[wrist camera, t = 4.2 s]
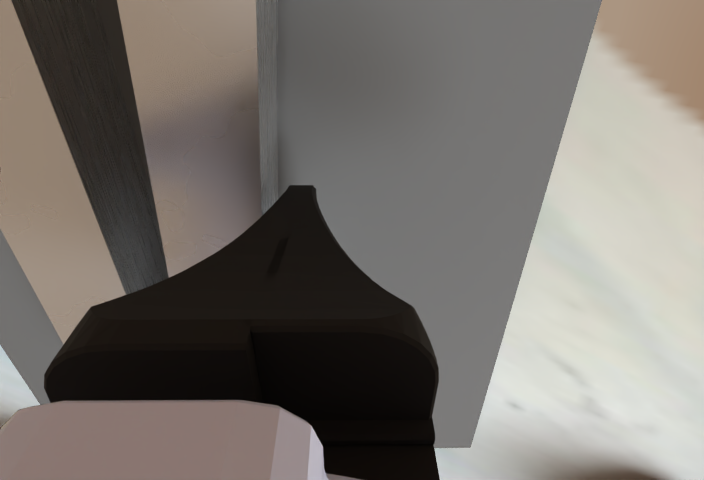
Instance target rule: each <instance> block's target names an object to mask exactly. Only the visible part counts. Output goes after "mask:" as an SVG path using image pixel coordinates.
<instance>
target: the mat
mask: <svg viewBox="0 0 704 480" xmlns="http://www.w3.org/2000/svg"><path fill="white" fill-rule="evenodd" d="M601 1H602V0H278V199H279V198H280V197H281V195H282V194H283V193H284V192H285V191H286V190H287V188H288V187H289V185H314V187H315V188H316V193H317V202H318V205H319V208H320V210H321V213H322V215H323V217H324V219H325V221H326V223H327V225H328V227H329V229H330V231H331V232H332V234H333V236H334V237H335V239H336V240H337V242H338V243H339V245H340V246H341V247H342V249H343V250H344V251H345V253H346V254H347V255H348V256H349V257H350V259H351V260H352V261H353V262H354V263H355V264H356V265H357V266H358V267H359V268H360V269H361V270H362V271H363V272H364V273H365V274H366V275H367V276H369V277H370V278H371V279H372V280H373V281H374V282H376V283H377V284H378V285H380V286H381V287H382V288H384V289H385V290H386V291H388V292H390V293H391V294H393V295H395V296H396V297H398V298H400V299H401V300H403V301H405V302H407V303H408V304H410V305H412V306H413V307H414V308H415V310H416V312H417V314H418V316H419V318H420V320H421V322H422V324H423V326H424V328H425V330H426V332H427V335H428V337H429V339H430V342H431V345H432V347H433V350H434V353H435V356H436V359H437V364H438V368H439V383H438V389H437V394H436V399H435V404H434V409H433V414H432V419H433V425H434V430H435V444H433V445H434V448H470V447H471V444H472V440H473V437H474V434H475V430H476V427H477V423H478V420H479V417H480V413H481V410H482V406H483V403H484V400H485V396H486V393H487V389H488V386H489V383H490V379H491V376H492V372H493V369H494V366H495V362H496V359H497V355H498V352H499V349H500V345H501V342H502V338H503V335H504V332H505V328H506V325H507V321H508V318H509V315H510V311H511V308H512V304H513V301H514V298H515V294H516V291H517V287H518V284H519V281H520V277H521V274H522V270H523V267H524V264H525V260H526V257H527V253H528V250H529V247H530V243H531V240H532V236H533V233H534V229H535V226H536V223H537V219H538V216H539V212H540V209H541V206H542V202H543V199H544V195H545V192H546V189H547V185H548V182H549V178H550V175H551V172H552V168H553V165H554V161H555V158H556V155H557V151H558V148H559V144H560V141H561V138H562V134H563V131H564V127H565V124H566V121H567V117H568V114H569V110H570V107H571V104H572V100H573V97H574V93H575V90H576V87H577V83H578V80H579V76H580V73H581V70H582V66H583V63H584V59H585V56H586V53H587V49H588V46H589V42H590V39H591V36H592V32H593V29H594V25H595V22H596V19H597V15H598V11H599V8H600V5H601ZM96 2H97V5H98V9H99V12H100V16H101V19H102V22H103V26H104V29H105V33H106V36H107V40H108V43H109V47H110V50H111V53H112V57H113V60H114V64H115V67H116V71H117V74H118V77H119V81H120V84H121V88H122V91H123V95H124V98H125V101H126V105H127V108H128V112H129V115H130V119H131V122H132V125H133V129H134V132H135V136H136V139H137V143H138V146H139V149H140V153H141V156H142V160H143V163H144V167H145V170H146V174H147V177H148V180H149V184H150V187H151V191H152V185H151V180H150V174H149V169H148V164H147V158H146V153H145V148H144V142H143V137H142V132H141V126H140V121H139V116H138V110H137V105H136V100H135V94H134V89H133V84H132V78H131V73H130V68H129V62H128V57H127V52H126V46H125V41H124V36H123V30H122V25H121V20H120V14H119V9H118V4H117V0H96ZM152 194H153V191H152ZM153 198H154V196H153ZM0 345H1V346H2V348H3V349H4V351H5V352H6V354H7V355H8V357H9V358H10V360H11V361H12V363H13V364H14V366H15V367H16V369H17V370H18V372H19V373H20V375H21V376H22V378H23V379H24V381H25V382H26V384H27V385H28V387H29V388H30V390H31V391H32V393H33V394H34V396H35V397H36V399H37V400H38V402H39V403H40V405H43V404H48V403H50V401H49V398H48V396H47V394H46V392H45V389H44V374H45V372H46V370H47V369H48V367H49V365H50V364H51V362H52V360H53V359H54V358H55V356H56V355H57V353H58V352H59V350H60V349H61V347H62V346H63V345H64V344H63V343H62V341H61V339H60V337H59V335H58V333H57V332H56V330H55V328H54V326H53V324H52V322H51V321H50V319H49V317H48V315H47V313H46V311H45V310H44V308H43V306H42V304H41V302H40V300H39V299H38V297H37V295H36V293H35V291H34V289H33V288H32V286H31V284H30V282H29V280H28V279H27V277H26V275H25V273H24V271H23V269H22V268H21V266H20V264H19V262H18V260H17V258H16V257H15V255H14V253H13V251H12V249H11V247H10V246H9V244H8V242H7V240H6V238H5V236H4V235H3V233H2V231H1V229H0Z"/></svg>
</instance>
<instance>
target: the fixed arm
mask: <svg viewBox="0 0 704 480" xmlns="http://www.w3.org/2000/svg"><path fill="white" fill-rule="evenodd" d="M0 229H1V231H2V233H3V235H4V236H5V238H6V240H7V242H8V244H9V246H10V247H11V249H12V251H13V253H14V255H15V257H16V258H17V260H18V262H19V264H20V266H21V268H22V269H23V271H24V273H25V275H26V277H27V279H28V280H29V282H30V284H31V286H32V288H33V289H34V291H35V293H36V295H37V297H38V299H39V300H40V302H41V304H42V306H43V308H44V310H45V311H46V313H47V315H48V317H49V319H50V321H51V322H52V324H53V326H54V328H55V330H56V332H57V333H58V335H59V337H60V339H61V341H62V343H63V344H64V343H65V342H66V340H67V339H68V337H69V336H70V334H71V333H72V332H73V330H74V329H75V327H76V326H77V324H78V323H79V322H80V320H81V319H82V318H83V316H84V315H85V314H86V312H87V311H88V310H89V309H90V307H91V306H94V305H98V304H101V303H104V302H107V301H110V300H113V299H115V298H118V297H121V296H124V295H127V294H130V293H133V292H136V291H138V290H141V289H144V288H146V287H149V286H151V285H153V284H156V283H158V282H160V281H163V280H165V279H167V278H169V276H168V271H167V265H166V260H165V255H164V249H163V244H162V239H161V233H160V228H159V223H158V217H157V212H156V207H155V201H154V198H153V194H152V191H151V187H150V184H149V180H148V177H147V174H146V170H145V167H144V163H143V160H142V156H141V153H140V149H139V146H138V143H137V139H136V136H135V132H134V129H133V125H132V122H131V119H130V115H129V112H128V108H127V105H126V101H125V98H124V95H123V91H122V88H121V84H120V81H119V77H118V74H117V71H116V67H115V64H114V60H113V57H112V53H111V50H110V47H109V43H108V40H107V36H106V33H105V29H104V26H103V22H102V19H101V16H100V12H99V9H98V5H97V2H96V0H0Z"/></svg>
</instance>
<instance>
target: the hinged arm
mask: <svg viewBox="0 0 704 480" xmlns="http://www.w3.org/2000/svg"><path fill="white" fill-rule="evenodd" d="M117 4H118V9H119V14H120V20H121V25H122V30H123V36H124V41H125V46H126V52H127V57H128V62H129V68H130V73H131V78H132V84H133V89H134V94H135V100H136V105H137V110H138V116H139V121H140V126H141V132H142V137H143V142H144V148H145V153H146V158H147V164H148V169H149V174H150V180H151V185H152V191H153V196H154V201H155V207H156V212H157V217H158V223H159V228H160V233H161V239H162V244H163V249H164V255H165V260H166V265H167V271H168V276H169V277H172V276H174V275H176V274H178V273H180V272H182V271H184V270H186V269H188V268H190V267H191V266H193V265H195V264H197V263H199V262H200V261H202V260H204V259H206V258H207V257H209V256H211V255H213V254H214V253H216V252H217V251H219V250H220V249H222V248H223V247H225V246H226V245H228V244H229V243H231V242H232V241H233V240H235V239H236V238H237V237H239V236H240V235H241V234H242V233H244V232H245V231H246V230H247V229H248V228H249V227H250V226H252V225H253V224H254V223H255V222H256V221H257V220H258V219H259V218H260V217H261V216H262V215H263V214H264V213H265V212H266V211H267V210H268V209H269V208H270V207H271V206H272V205H273V204H274V203H275V202H276V201H277V200H278V0H117Z"/></svg>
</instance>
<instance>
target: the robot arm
mask: <svg viewBox="0 0 704 480" xmlns="http://www.w3.org/2000/svg"><path fill="white" fill-rule="evenodd" d="M438 383H439V368H438V364H437V359H436V356H435V353H434V350H433V347H432V345H431V342H430V339H429V337H428V335H427V332H426V330H425V328H424V326H423V324H422V322H421V320H420V318H419V316H418V314H417V312H416V310H415V308H414V307H413V306H412V305H410V304H408V303H407V302H405V301H403V300H401V299H400V298H398V297H396V296H395V295H393V294H391V293H390V292H388V291H386V290H385V289H384V288H382V287H381V286H380V285H378V284H377V283H376V282H374V281H373V280H372V279H371V278H370V277H369V276H367V275H366V274H365V273H364V272H363V271H362V270H361V269H360V268H359V267H358V266H357V265H356V264H355V263H354V262H353V261H352V260H351V259H350V257H349V256H348V255H347V254H346V253H345V251H344V250H343V249H342V247H341V246H340V245H339V243H338V242H337V240H336V239H335V237H334V236H333V234H332V232H331V231H330V229H329V227H328V225H327V223H326V221H325V219H324V217H323V215H322V213H321V210H320V208H319V205H318V202H317V193H316V188H315V187H314V185H289V187H288V188H287V190H286V191H285V192H284V193H283V194H282V195H281V197H280V198H279V199H278V200H277V201H276V202H275V203H274V204H273V205H272V206H271V207H270V208H269V209H268V210H267V211H266V212H265V213H264V214H263V215H262V216H261V217H260V218H259V219H258V220H257V221H256V222H255V223H254V224H253V225H252V226H250V227H249V228H248V229H247V230H246V231H245V232H244V233H242V234H241V235H240V236H239V237H237V238H236V239H235V240H233V241H232V242H231V243H229V244H228V245H226V246H225V247H223V248H222V249H220V250H219V251H217V252H216V253H214V254H213V255H211V256H209V257H207V258H206V259H204V260H202V261H200V262H199V263H197V264H195V265H193V266H191V267H190V268H188V269H186V270H184V271H182V272H180V273H178V274H176V275H174V276H172V277H169V278H167V279H165V280H163V281H160V282H158V283H156V284H153V285H151V286H149V287H146V288H144V289H141V290H138V291H136V292H133V293H130V294H127V295H124V296H121V297H118V298H115V299H113V300H110V301H107V302H104V303H101V304H98V305H94V306H91V307H90V309H89V310H88V311H87V312H86V314H85V315H84V316H83V318H82V319H81V320H80V322H79V323H78V324H77V326H76V327H75V329H74V330H73V332H72V333H71V334H70V336H69V337H68V339H67V340H66V342H65V343H64V345H63V346H62V347H61V349H60V350H59V352H58V353H57V355H56V356H55V358H54V359H53V360H52V362H51V364H50V365H49V367H48V369H47V370H46V372H45V374H44V389H45V392H46V394H47V396H48V398H49V401H50V403H48V404H43V405H38V406H32V407H28V408H24V409H20V410H18V411H17V412H16V413H15V414H14V415H13V416H12V417H11V418H10V419H9V420H8V421H7V422H6V423H5V424H4V425H3V426H2V428H1V429H0V480H440V479H439V473H438V468H437V462H436V456H435V451H434V445H433V444H435V430H434V425H433V419H432V414H433V409H434V404H435V399H436V394H437V389H438Z"/></svg>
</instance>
